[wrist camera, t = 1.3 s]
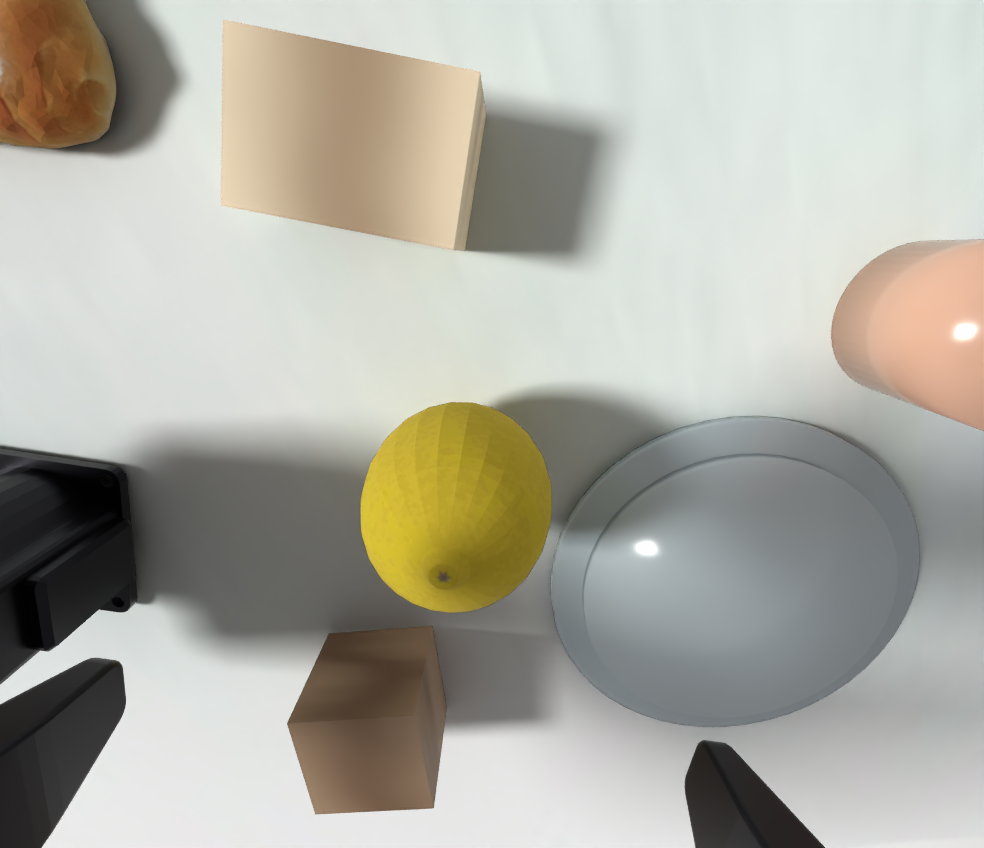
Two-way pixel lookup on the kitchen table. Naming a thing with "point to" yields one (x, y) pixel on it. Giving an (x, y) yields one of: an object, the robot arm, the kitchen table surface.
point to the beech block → (349, 136)
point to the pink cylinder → (918, 327)
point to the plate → (734, 571)
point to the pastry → (53, 74)
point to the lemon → (456, 507)
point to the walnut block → (372, 722)
